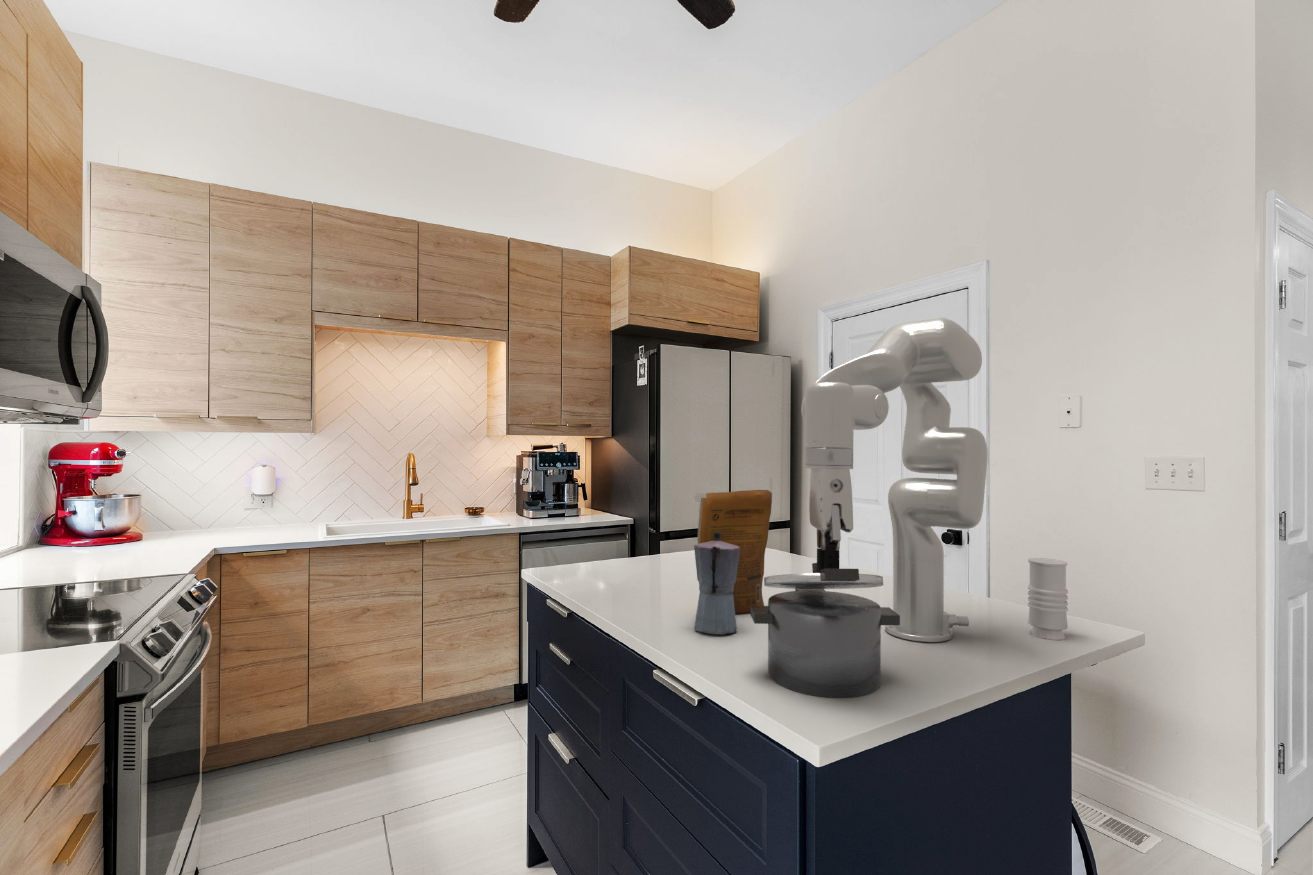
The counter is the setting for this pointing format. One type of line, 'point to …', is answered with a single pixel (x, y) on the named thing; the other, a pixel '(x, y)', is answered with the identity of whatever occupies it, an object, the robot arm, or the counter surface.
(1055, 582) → the grey ribbed canister
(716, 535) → the moka pot
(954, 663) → the counter surface
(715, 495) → the pancake mix bag
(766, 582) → the lid
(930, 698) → the counter surface
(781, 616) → the cooker pot
